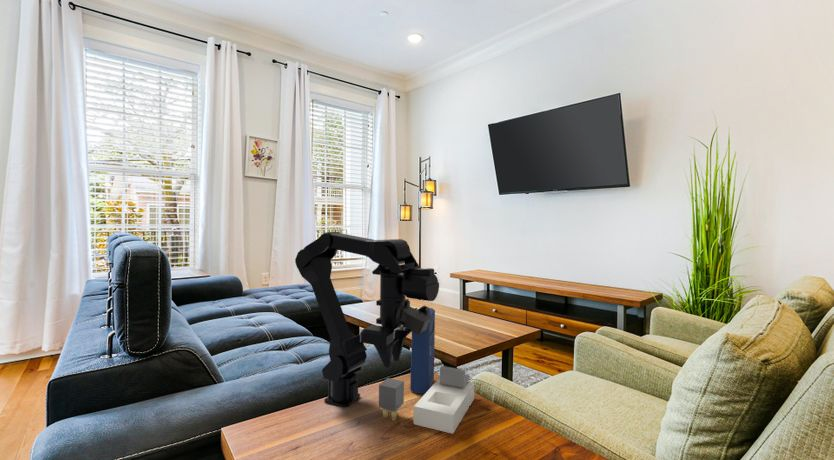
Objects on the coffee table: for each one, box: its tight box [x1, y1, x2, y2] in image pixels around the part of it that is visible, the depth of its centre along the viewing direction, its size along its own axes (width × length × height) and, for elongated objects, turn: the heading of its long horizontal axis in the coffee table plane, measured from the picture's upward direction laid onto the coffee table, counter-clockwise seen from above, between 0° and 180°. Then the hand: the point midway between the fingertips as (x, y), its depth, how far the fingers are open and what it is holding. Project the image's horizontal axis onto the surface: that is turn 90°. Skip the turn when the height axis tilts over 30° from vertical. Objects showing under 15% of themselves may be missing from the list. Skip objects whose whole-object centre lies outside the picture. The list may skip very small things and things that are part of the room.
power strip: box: [413, 377, 475, 434], centre depth 91 cm, size 9×17×4 cm, turn 157°
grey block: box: [439, 365, 471, 388], centre depth 97 cm, size 6×6×4 cm
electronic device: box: [409, 307, 436, 395], centre depth 104 cm, size 10×5×20 cm, turn 168°
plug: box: [378, 377, 405, 421], centre depth 88 cm, size 4×4×8 cm
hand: (392, 363), depth 88 cm, fingers open, 4 cm apart
